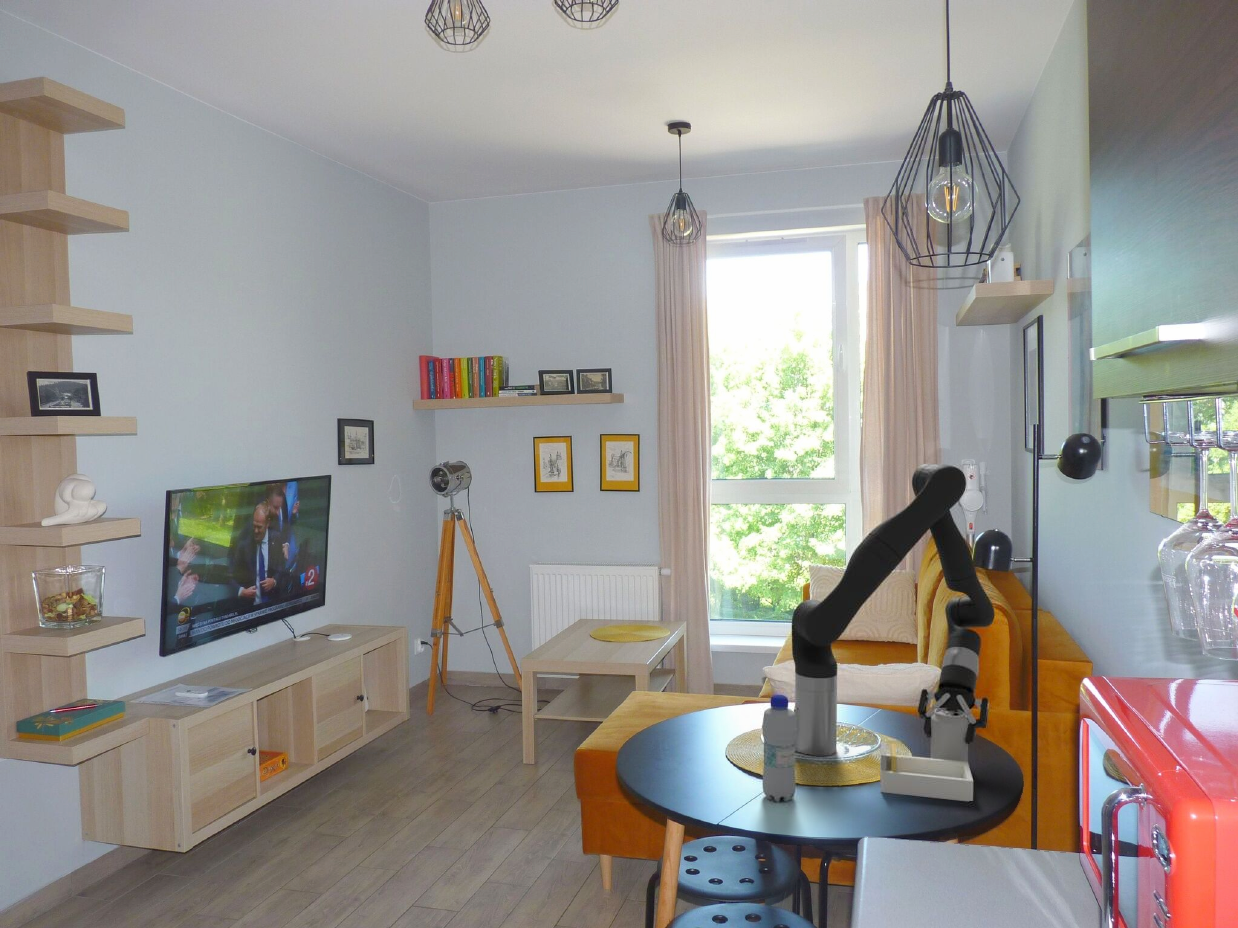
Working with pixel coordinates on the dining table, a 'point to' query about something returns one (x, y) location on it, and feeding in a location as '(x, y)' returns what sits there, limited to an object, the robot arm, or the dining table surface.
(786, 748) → the bottle
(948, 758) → the can
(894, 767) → the pusher paddle
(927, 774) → the white open box
